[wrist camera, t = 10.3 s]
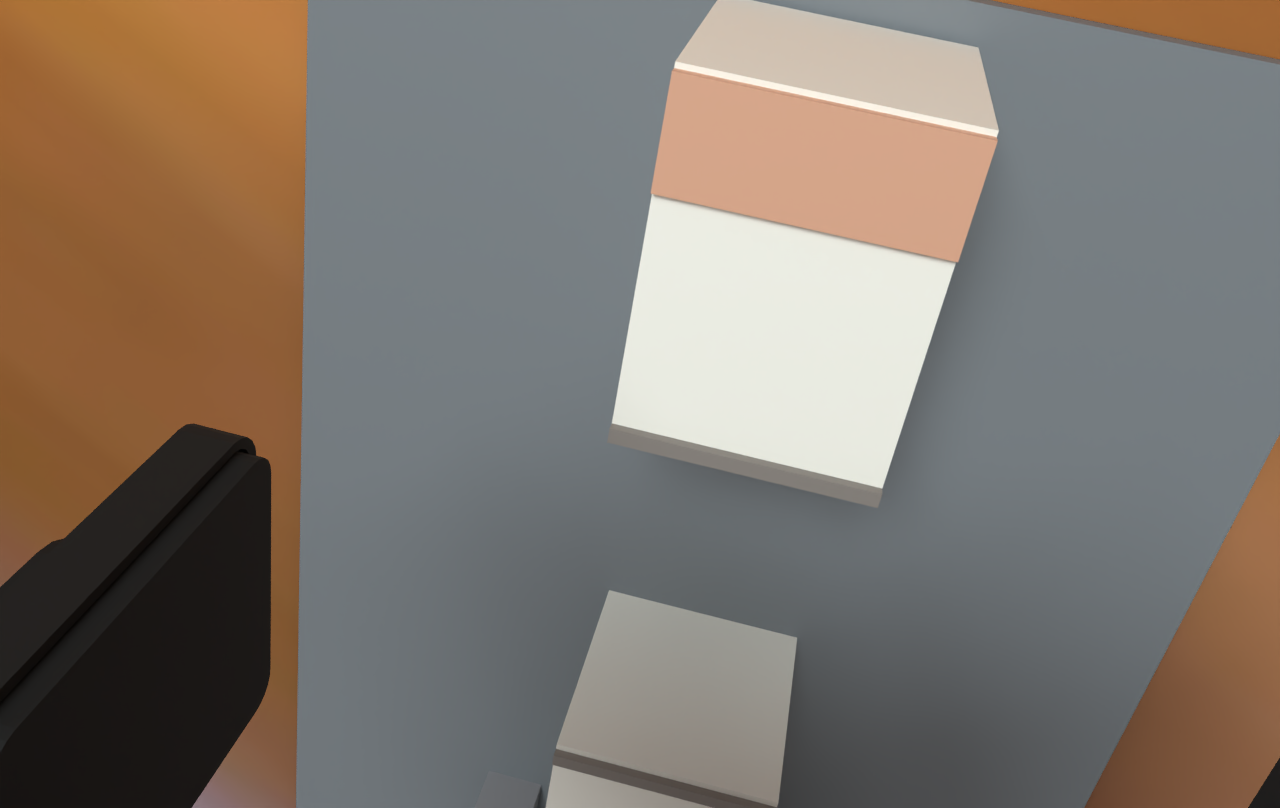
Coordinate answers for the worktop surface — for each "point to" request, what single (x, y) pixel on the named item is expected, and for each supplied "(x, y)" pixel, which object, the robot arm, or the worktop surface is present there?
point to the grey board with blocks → (739, 505)
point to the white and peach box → (800, 244)
